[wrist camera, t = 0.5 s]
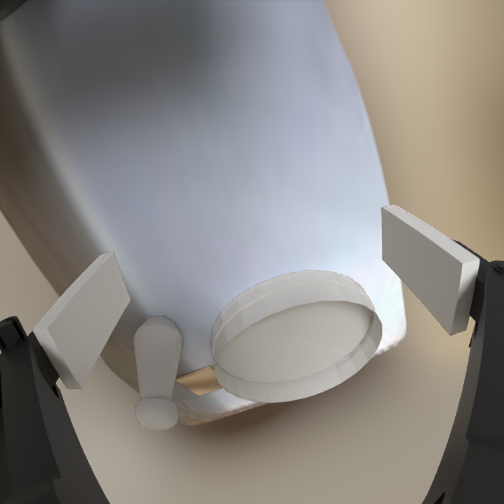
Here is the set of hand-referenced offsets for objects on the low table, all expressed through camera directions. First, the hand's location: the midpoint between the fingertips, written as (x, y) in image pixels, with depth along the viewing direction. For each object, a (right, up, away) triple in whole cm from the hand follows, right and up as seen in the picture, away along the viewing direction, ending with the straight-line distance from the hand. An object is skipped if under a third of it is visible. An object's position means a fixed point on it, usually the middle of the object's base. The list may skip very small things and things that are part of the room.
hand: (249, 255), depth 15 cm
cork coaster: (-7, -19, +30) cm, 36 cm away
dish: (+6, -10, +27) cm, 29 cm away
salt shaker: (-11, -9, +22) cm, 26 cm away
